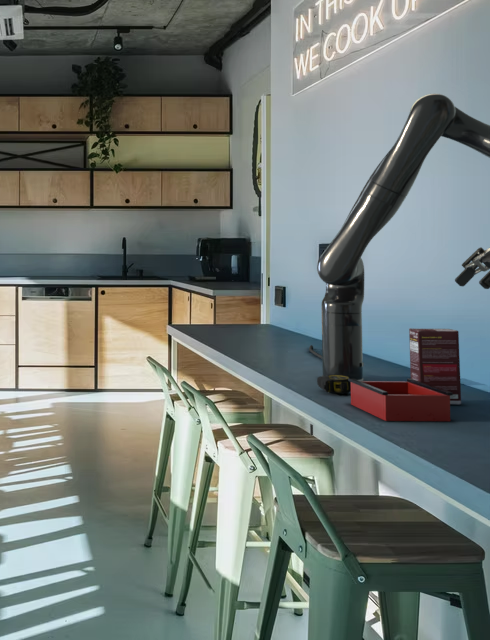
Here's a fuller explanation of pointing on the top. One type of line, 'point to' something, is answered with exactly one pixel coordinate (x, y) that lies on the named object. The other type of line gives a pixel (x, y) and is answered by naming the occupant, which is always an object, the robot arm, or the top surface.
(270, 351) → the top surface
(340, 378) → the tape measure
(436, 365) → the supplement box
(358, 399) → the open red box
